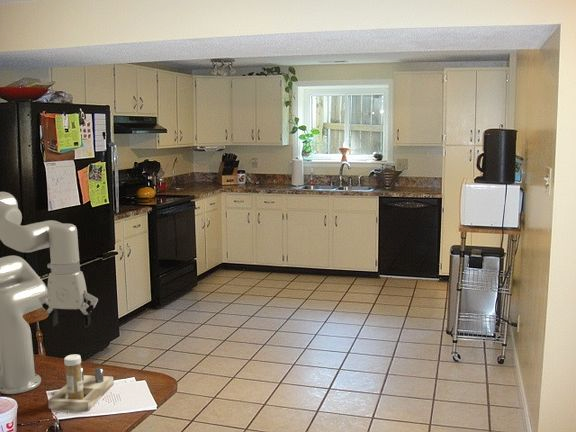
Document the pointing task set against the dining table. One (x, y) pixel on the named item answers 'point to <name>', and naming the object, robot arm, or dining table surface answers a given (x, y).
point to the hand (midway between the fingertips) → (70, 326)
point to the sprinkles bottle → (74, 376)
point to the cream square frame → (91, 388)
